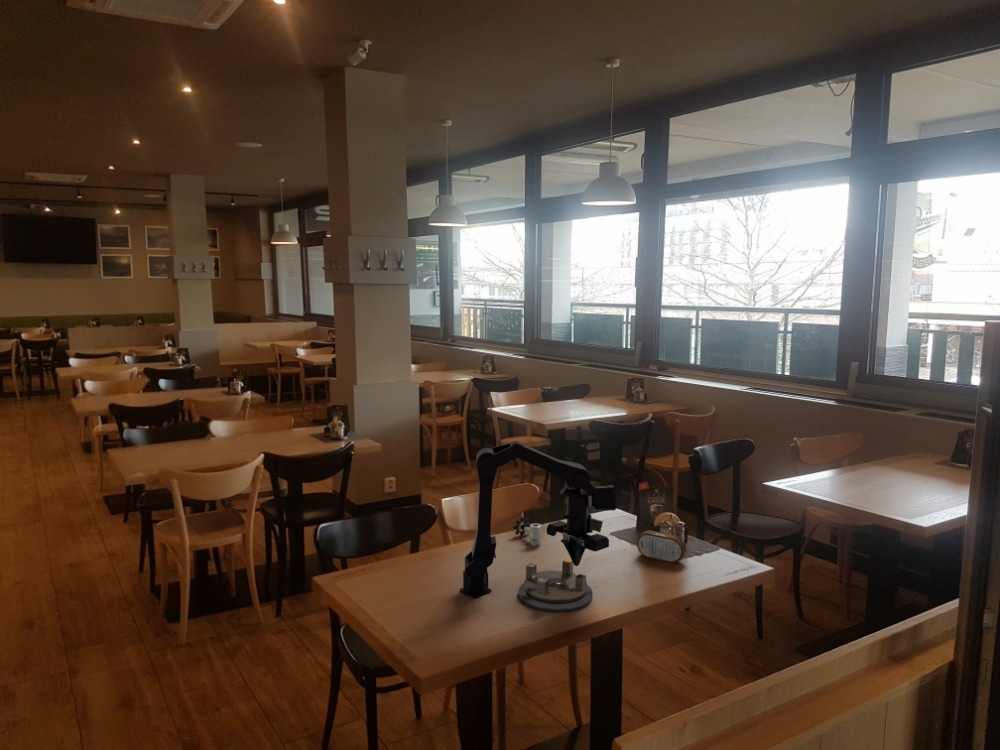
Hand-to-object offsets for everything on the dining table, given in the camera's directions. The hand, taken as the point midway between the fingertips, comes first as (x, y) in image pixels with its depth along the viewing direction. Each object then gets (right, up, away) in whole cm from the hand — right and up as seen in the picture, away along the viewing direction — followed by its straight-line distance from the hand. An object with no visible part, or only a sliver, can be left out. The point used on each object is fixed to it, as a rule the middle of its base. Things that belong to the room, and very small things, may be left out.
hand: (576, 565), depth 192 cm
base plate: (-6, -7, -3) cm, 10 cm away
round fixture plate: (-6, -6, -4) cm, 9 cm away
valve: (-11, -3, +39) cm, 41 cm away
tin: (+29, -5, +23) cm, 37 cm away
